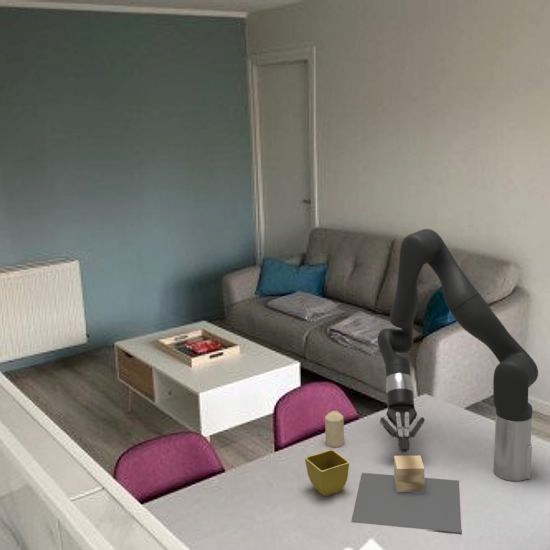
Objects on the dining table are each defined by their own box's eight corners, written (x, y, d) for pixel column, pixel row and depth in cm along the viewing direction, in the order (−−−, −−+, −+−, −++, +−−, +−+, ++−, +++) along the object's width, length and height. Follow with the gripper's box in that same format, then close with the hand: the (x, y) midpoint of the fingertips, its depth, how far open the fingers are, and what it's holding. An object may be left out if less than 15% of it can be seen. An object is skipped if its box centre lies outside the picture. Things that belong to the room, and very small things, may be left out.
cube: (420, 479, 187) (420, 455, 186) (424, 493, 180) (424, 468, 179) (394, 479, 188) (394, 455, 186) (397, 493, 181) (397, 468, 179)
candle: (342, 448, 207) (342, 417, 205) (324, 446, 208) (323, 416, 206) (344, 439, 212) (344, 409, 210) (327, 438, 213) (326, 408, 211)
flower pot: (322, 503, 178) (321, 471, 176) (305, 487, 186) (304, 457, 184) (350, 493, 182) (350, 462, 180) (332, 478, 190) (332, 448, 188)
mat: (458, 481, 186) (458, 480, 186) (461, 534, 163) (461, 532, 163) (361, 473, 192) (361, 472, 192) (351, 523, 169) (351, 522, 169)
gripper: (377, 387, 197) (381, 447, 188) (424, 387, 196) (430, 447, 187) (375, 397, 203) (379, 455, 194) (421, 396, 202) (427, 455, 193)
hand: (404, 451), depth 191 cm, fingers closed
